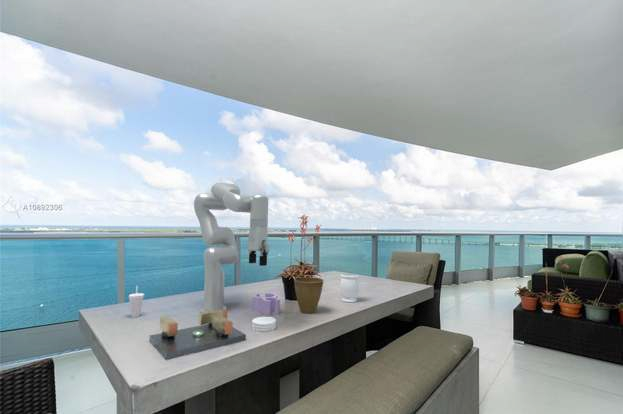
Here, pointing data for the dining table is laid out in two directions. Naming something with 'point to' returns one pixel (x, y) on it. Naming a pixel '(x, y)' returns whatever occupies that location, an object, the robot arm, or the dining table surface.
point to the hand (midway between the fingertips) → (257, 264)
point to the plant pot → (308, 293)
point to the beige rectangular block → (210, 316)
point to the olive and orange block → (168, 327)
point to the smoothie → (136, 303)
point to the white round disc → (263, 324)
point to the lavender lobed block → (266, 303)
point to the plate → (193, 341)
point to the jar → (349, 287)
